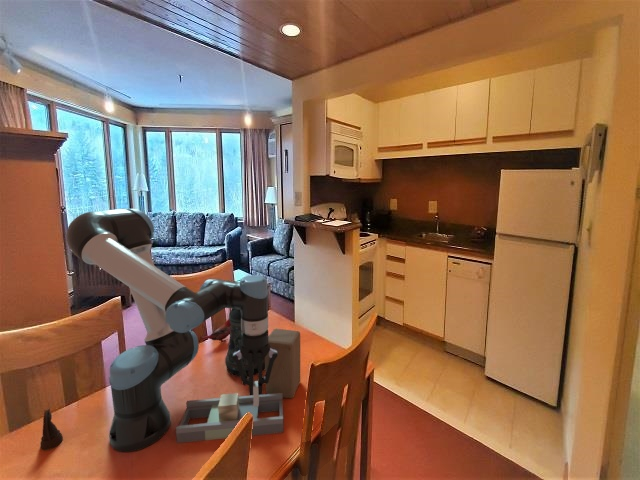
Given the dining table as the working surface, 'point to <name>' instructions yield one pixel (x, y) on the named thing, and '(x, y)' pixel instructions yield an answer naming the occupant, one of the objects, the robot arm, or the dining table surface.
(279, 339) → the wooden block
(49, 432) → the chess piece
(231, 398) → the birch block
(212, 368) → the dining table surface
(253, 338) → the robot arm
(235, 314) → the beer stein
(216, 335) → the decorative bird figurine
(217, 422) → the board
